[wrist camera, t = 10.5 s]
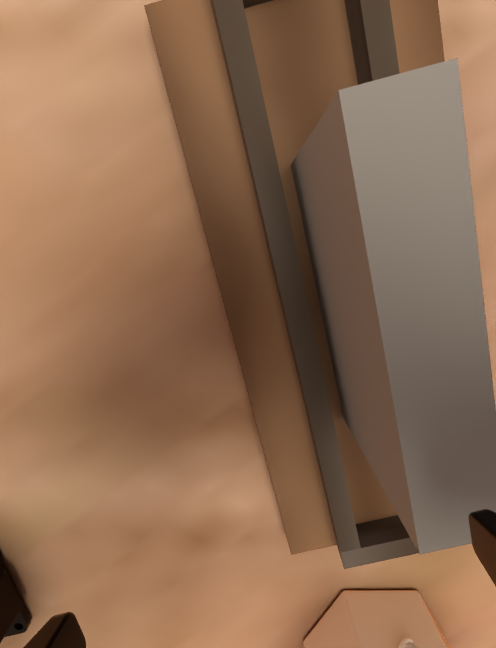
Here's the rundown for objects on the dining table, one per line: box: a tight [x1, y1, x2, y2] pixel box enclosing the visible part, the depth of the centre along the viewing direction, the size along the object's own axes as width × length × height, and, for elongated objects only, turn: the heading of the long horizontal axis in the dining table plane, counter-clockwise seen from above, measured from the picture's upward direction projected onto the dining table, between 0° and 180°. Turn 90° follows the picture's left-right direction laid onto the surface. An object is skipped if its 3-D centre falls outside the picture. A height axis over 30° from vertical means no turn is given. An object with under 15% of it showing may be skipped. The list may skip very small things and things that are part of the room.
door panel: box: [291, 58, 496, 554], centre depth 13 cm, size 2×12×8 cm, turn 14°
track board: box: [144, 0, 444, 569], centre depth 17 cm, size 11×26×3 cm, turn 14°
